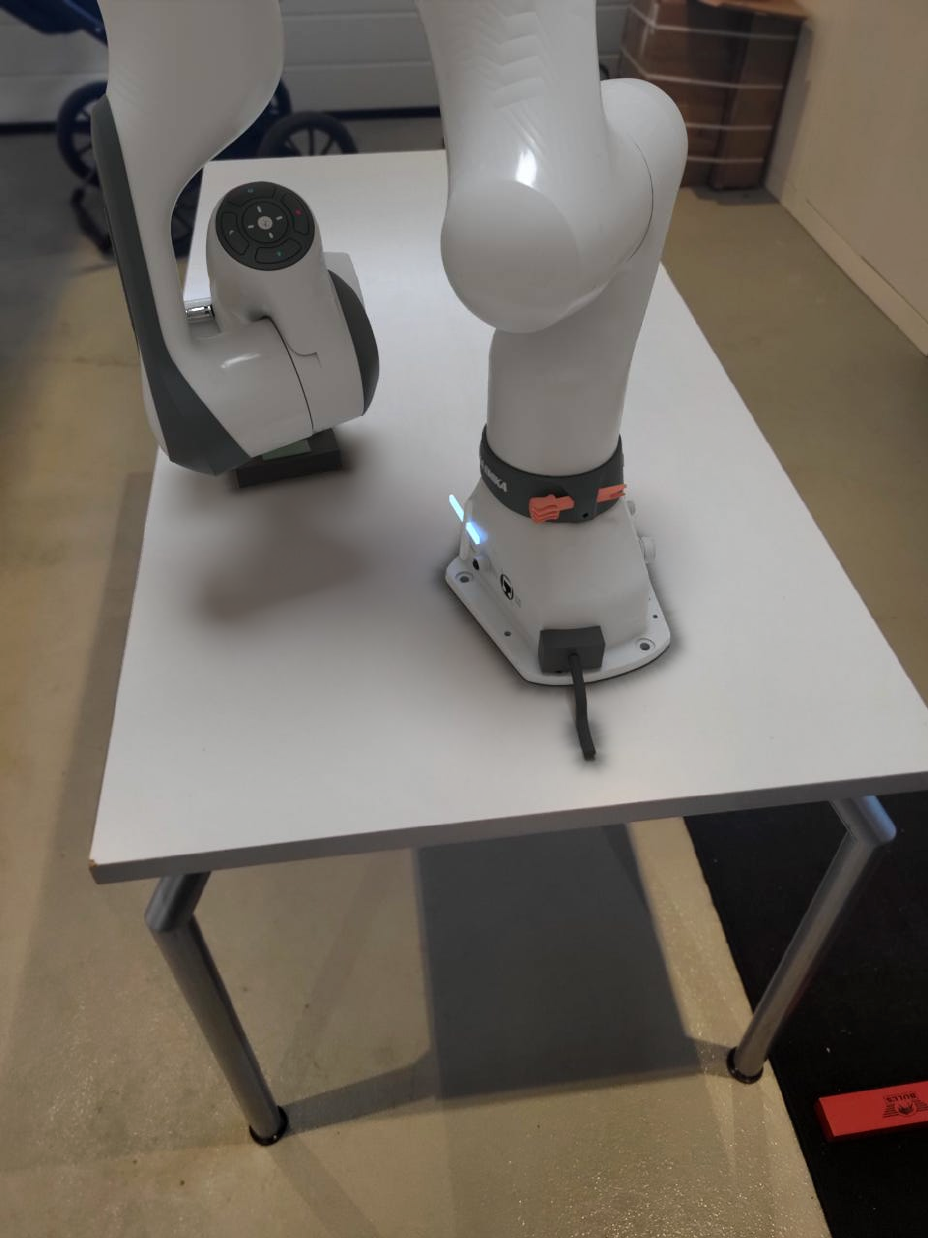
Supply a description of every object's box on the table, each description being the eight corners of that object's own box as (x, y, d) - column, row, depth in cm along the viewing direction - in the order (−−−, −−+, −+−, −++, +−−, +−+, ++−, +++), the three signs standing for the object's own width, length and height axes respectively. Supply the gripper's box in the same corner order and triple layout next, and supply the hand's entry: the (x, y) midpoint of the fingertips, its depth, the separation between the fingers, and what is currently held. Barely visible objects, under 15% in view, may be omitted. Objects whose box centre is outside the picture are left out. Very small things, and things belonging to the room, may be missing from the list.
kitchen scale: (342, 468, 94) (339, 443, 92) (239, 488, 91) (233, 463, 89) (314, 398, 103) (311, 374, 101) (219, 415, 101) (214, 390, 98)
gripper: (150, 355, 76) (166, 395, 89) (381, 318, 80) (363, 361, 94) (132, 282, 75) (151, 333, 89) (365, 249, 80) (349, 302, 93)
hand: (261, 347), depth 91 cm, fingers open, 8 cm apart
